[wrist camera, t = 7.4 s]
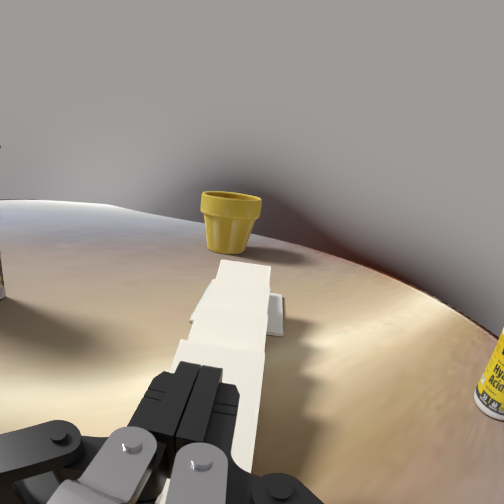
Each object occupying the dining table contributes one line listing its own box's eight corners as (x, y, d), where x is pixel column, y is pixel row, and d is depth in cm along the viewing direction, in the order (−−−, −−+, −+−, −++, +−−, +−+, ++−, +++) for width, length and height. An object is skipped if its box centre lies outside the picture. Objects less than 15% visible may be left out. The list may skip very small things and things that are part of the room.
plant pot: (239, 262, 51) (247, 200, 49) (185, 248, 55) (190, 191, 52) (263, 250, 61) (270, 198, 58) (215, 239, 64) (220, 190, 62)
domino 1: (262, 346, 24) (270, 266, 32) (198, 336, 24) (221, 259, 32) (260, 358, 25) (268, 278, 33) (199, 348, 25) (220, 271, 33)
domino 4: (243, 523, 10) (265, 353, 18) (129, 498, 10) (180, 339, 18) (241, 526, 11) (262, 368, 19) (137, 504, 11) (182, 355, 19)
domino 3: (252, 446, 15) (268, 315, 23) (159, 429, 15) (199, 304, 23) (249, 455, 15) (265, 329, 24) (163, 439, 16) (199, 319, 24)
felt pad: (282, 336, 30) (283, 333, 30) (189, 322, 30) (189, 319, 30) (281, 296, 39) (281, 294, 39) (209, 286, 40) (209, 283, 40)
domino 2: (256, 390, 19) (270, 287, 27) (181, 377, 20) (212, 278, 28) (254, 401, 20) (267, 301, 28) (183, 388, 21) (212, 292, 29)
